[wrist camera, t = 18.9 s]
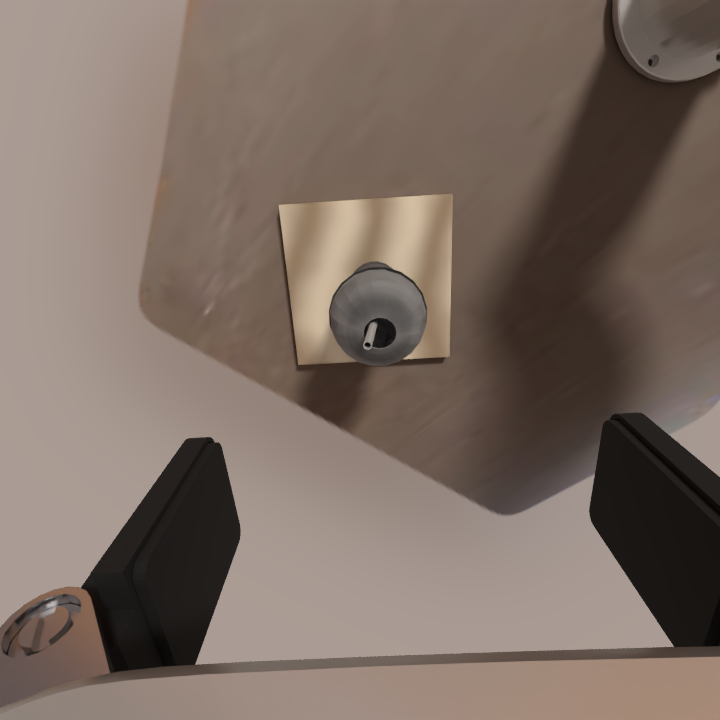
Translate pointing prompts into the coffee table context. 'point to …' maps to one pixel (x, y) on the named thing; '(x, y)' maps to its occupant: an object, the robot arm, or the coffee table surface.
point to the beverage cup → (378, 315)
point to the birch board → (361, 245)
